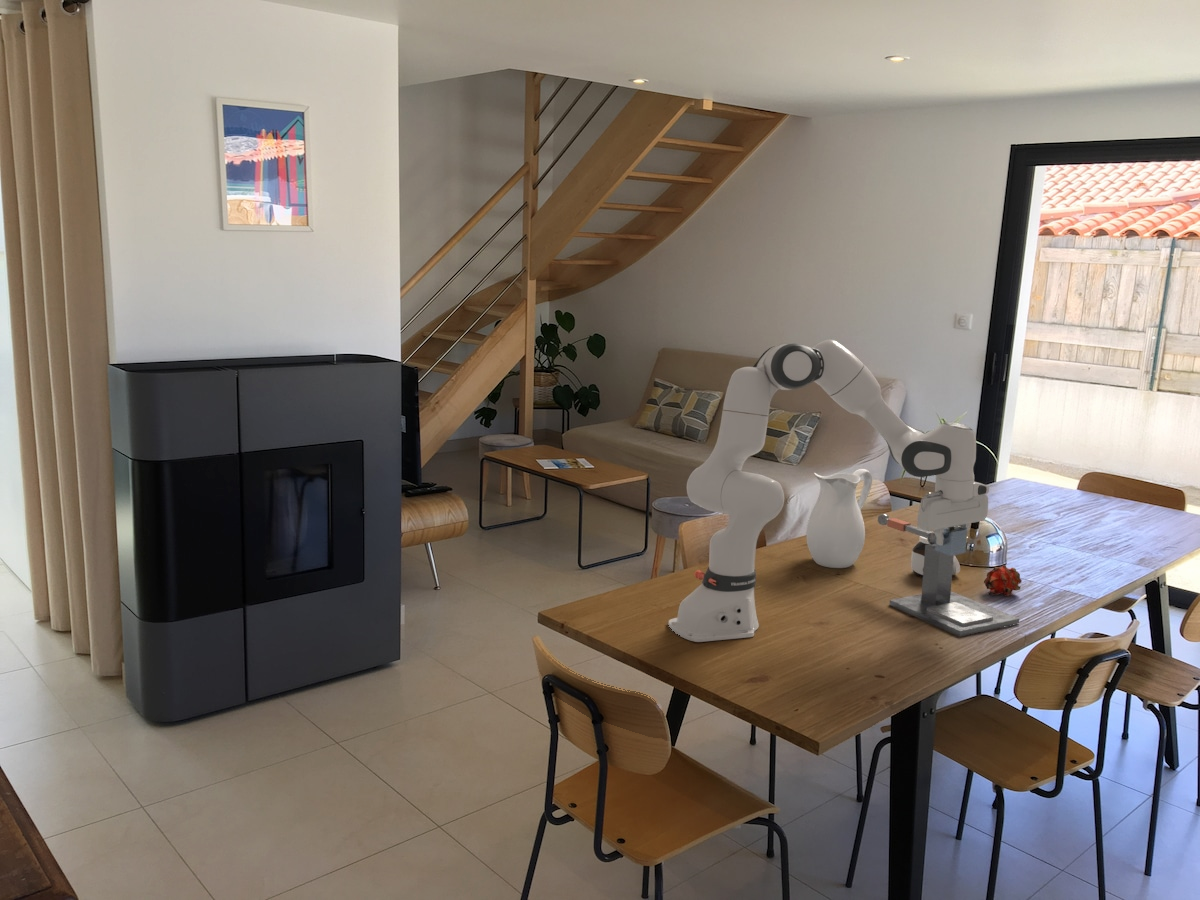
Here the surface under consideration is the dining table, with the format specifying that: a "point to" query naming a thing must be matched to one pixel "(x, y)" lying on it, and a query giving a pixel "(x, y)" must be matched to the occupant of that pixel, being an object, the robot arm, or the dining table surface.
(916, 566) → the spread jar
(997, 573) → the dragon fruit
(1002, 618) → the stand
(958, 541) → the block
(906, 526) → the lever
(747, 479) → the robot arm
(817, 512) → the pitcher
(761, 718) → the dining table surface
